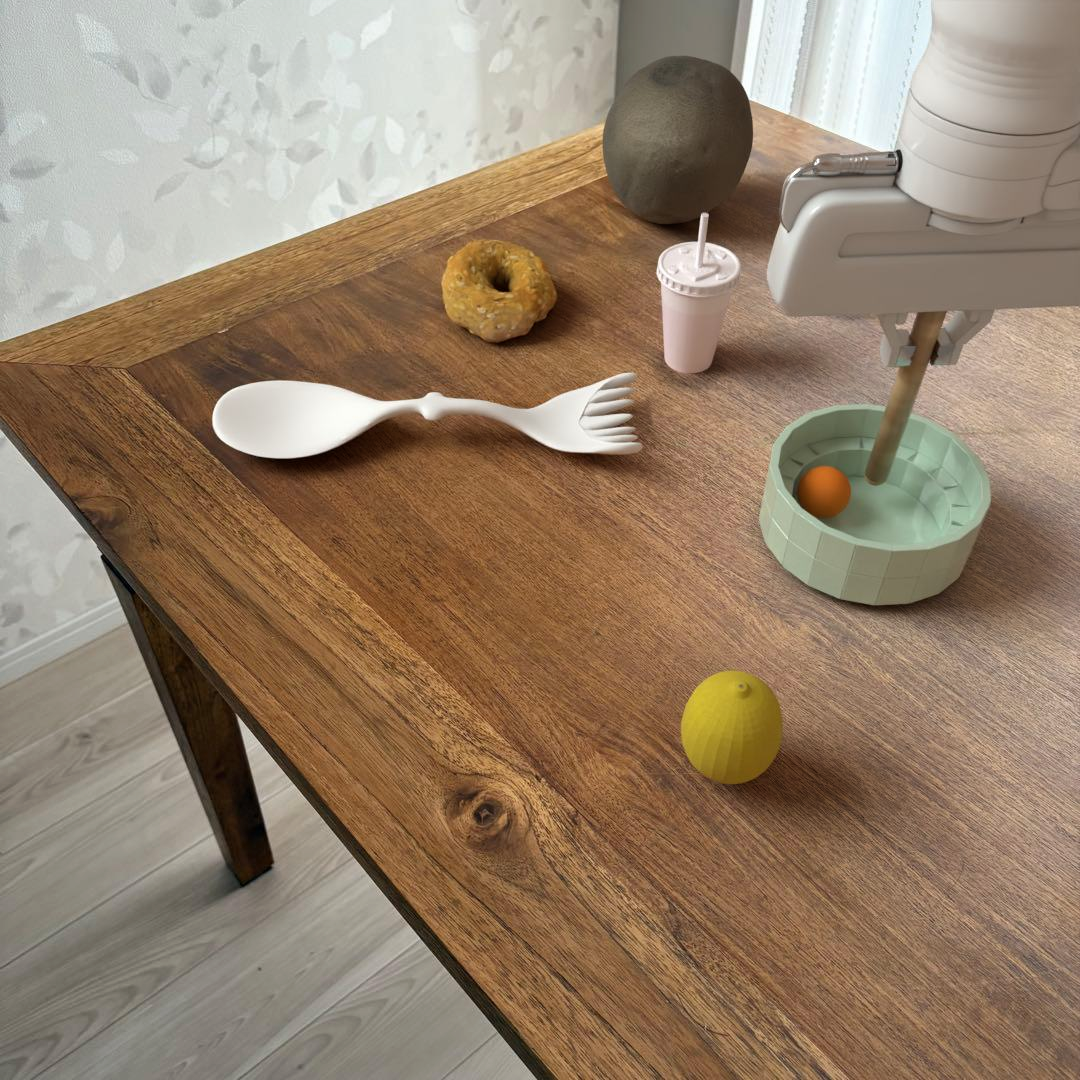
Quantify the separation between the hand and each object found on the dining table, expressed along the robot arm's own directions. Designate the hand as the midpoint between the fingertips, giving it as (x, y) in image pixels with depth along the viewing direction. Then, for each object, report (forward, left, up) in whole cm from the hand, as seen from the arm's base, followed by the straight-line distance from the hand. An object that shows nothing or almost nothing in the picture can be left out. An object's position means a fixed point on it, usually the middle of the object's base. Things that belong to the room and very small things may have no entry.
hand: (916, 360), depth 69 cm
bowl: (+1, +2, -14) cm, 14 cm away
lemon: (+14, +20, -14) cm, 28 cm away
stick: (0, -1, -11) cm, 11 cm away
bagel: (+25, -27, -14) cm, 40 cm away
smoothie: (+10, -18, -14) cm, 25 cm away
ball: (+4, 0, -11) cm, 12 cm away
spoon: (+31, -11, -14) cm, 36 cm away
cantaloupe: (+8, -41, -14) cm, 44 cm away
